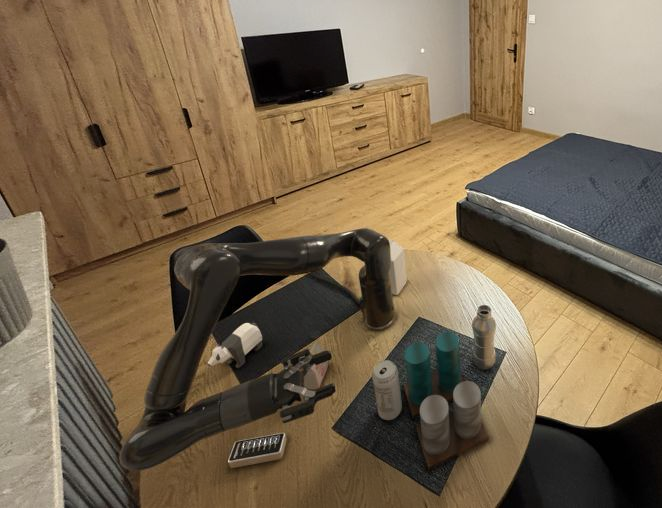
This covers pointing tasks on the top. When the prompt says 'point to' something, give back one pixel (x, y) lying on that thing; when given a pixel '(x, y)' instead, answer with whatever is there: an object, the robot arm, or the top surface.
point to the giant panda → (237, 345)
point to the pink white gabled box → (315, 371)
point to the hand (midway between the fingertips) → (333, 370)
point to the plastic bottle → (484, 338)
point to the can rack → (437, 381)
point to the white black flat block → (257, 450)
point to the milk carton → (397, 268)
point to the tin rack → (451, 424)
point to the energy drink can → (387, 390)
